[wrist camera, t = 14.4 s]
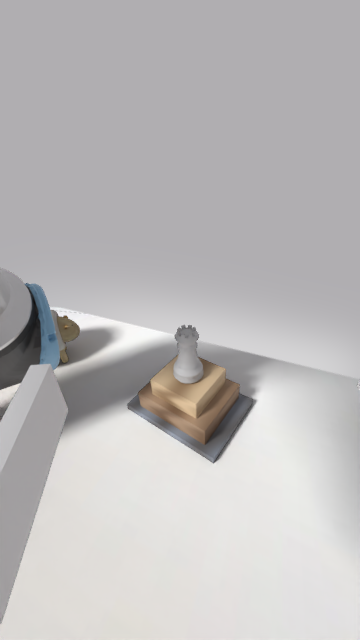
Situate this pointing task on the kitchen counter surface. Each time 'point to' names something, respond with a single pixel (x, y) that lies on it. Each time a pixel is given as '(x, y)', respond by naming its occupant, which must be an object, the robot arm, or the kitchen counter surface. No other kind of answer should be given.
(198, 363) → the rook chess piece
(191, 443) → the plinth
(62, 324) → the toy sheep
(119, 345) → the kitchen counter surface
